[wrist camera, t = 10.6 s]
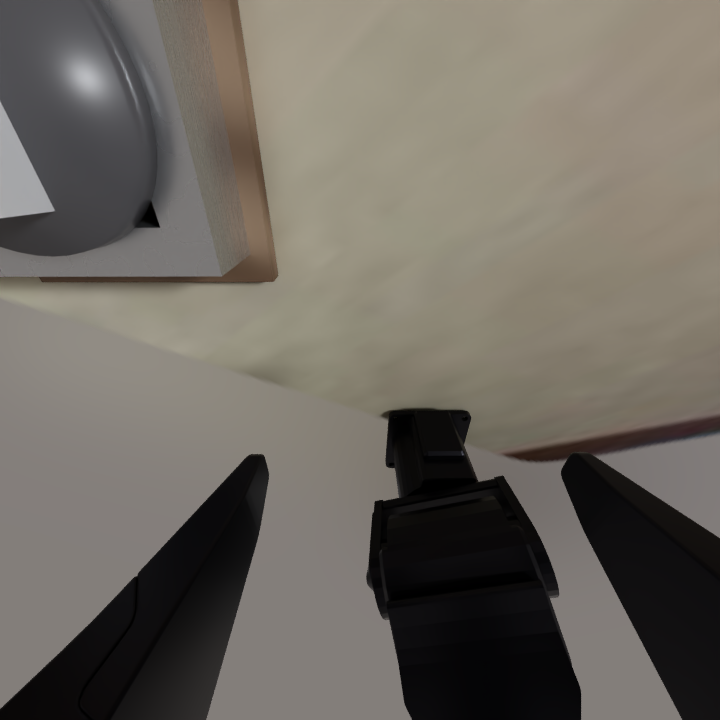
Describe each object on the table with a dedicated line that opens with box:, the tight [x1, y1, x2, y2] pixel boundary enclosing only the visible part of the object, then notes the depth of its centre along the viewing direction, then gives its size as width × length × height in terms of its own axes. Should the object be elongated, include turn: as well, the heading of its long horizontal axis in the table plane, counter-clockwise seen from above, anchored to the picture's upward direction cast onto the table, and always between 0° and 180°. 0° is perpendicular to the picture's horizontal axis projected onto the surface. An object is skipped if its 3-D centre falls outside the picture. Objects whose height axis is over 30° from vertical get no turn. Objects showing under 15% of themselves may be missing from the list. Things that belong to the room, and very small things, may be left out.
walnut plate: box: [39, 0, 278, 282], centre depth 13 cm, size 14×13×1 cm
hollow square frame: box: [0, 0, 250, 277], centre depth 11 cm, size 11×11×4 cm
